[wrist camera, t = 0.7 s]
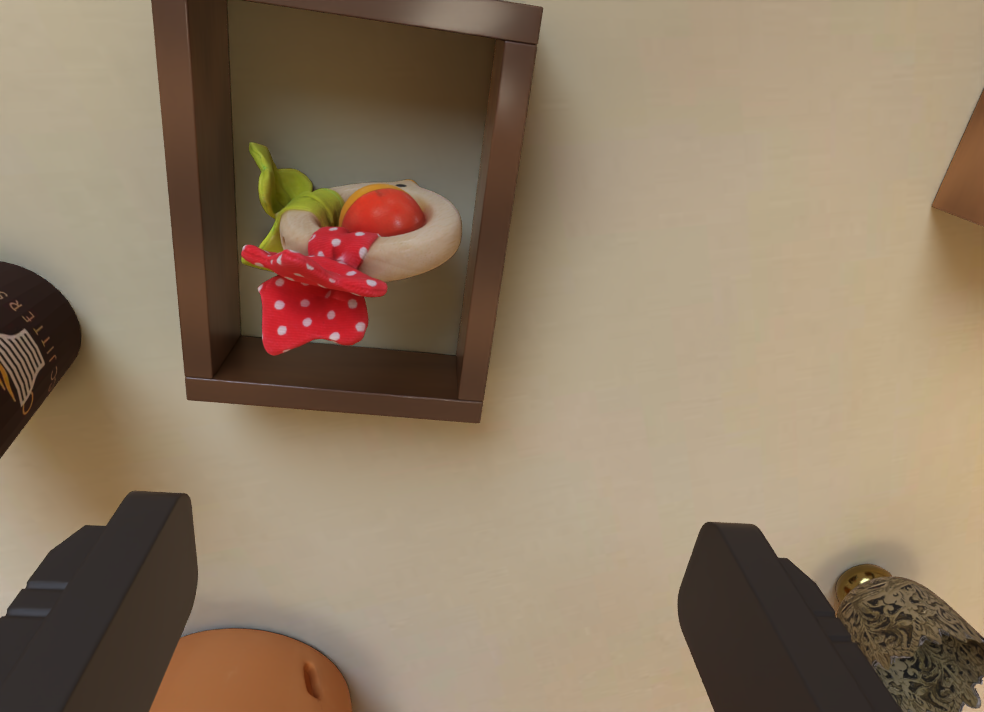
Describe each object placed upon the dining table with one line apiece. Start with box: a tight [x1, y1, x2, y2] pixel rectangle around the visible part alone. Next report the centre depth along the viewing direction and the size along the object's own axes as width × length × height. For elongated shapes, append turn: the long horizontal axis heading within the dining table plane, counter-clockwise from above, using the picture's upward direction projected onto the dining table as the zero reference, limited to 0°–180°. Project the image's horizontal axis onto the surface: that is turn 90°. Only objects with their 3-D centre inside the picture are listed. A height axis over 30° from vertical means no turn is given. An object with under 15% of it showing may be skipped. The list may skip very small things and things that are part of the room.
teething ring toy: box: [241, 142, 462, 356], centre depth 25 cm, size 6×11×9 cm
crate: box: [151, 0, 543, 423], centre depth 28 cm, size 17×13×4 cm
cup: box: [836, 564, 984, 712], centre depth 40 cm, size 8×7×8 cm
